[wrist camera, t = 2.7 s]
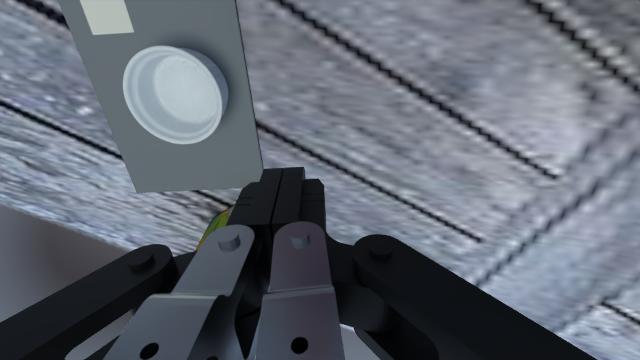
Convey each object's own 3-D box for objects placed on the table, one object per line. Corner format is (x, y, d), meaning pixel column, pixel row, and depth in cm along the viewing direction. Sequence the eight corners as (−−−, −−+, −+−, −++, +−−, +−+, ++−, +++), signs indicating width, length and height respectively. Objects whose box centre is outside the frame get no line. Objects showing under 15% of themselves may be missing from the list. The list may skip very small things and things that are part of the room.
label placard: (41, -48, 26) (37, -49, 25) (225, -61, 25) (223, -62, 25) (138, 191, 37) (136, 193, 37) (265, 184, 37) (265, 186, 36)
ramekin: (136, 103, 31) (110, 114, 28) (161, 22, 28) (136, 23, 24) (215, 144, 34) (201, 160, 30) (248, 74, 30) (238, 82, 26)
